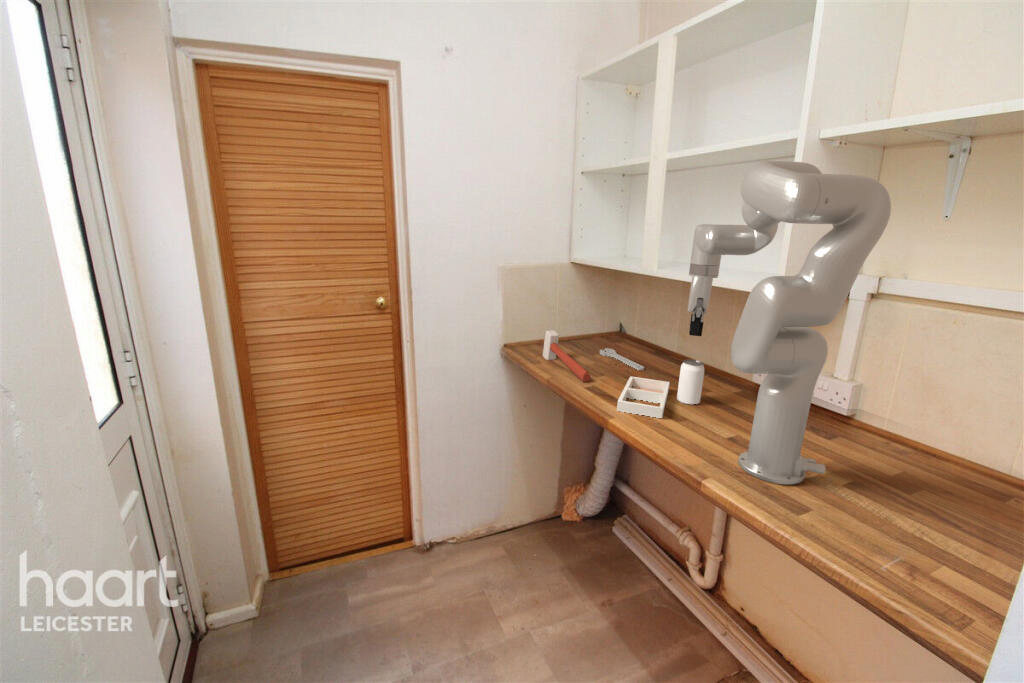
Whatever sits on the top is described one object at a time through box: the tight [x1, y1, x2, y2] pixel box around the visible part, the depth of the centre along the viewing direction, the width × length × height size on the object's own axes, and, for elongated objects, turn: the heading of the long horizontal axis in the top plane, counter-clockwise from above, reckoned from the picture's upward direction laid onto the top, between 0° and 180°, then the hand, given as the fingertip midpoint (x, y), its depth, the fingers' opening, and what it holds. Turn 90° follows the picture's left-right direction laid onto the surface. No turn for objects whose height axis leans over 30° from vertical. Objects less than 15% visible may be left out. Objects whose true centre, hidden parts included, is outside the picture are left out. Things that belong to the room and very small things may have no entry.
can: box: [676, 359, 705, 406], centre depth 136 cm, size 6×6×12 cm
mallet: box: [542, 329, 591, 383], centre depth 163 cm, size 11×4×30 cm
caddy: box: [616, 376, 670, 419], centre depth 137 cm, size 12×23×3 cm, turn 158°
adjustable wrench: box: [599, 347, 645, 371], centre depth 175 cm, size 25×6×2 cm, turn 18°
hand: (695, 331), depth 132 cm, fingers open, 9 cm apart
